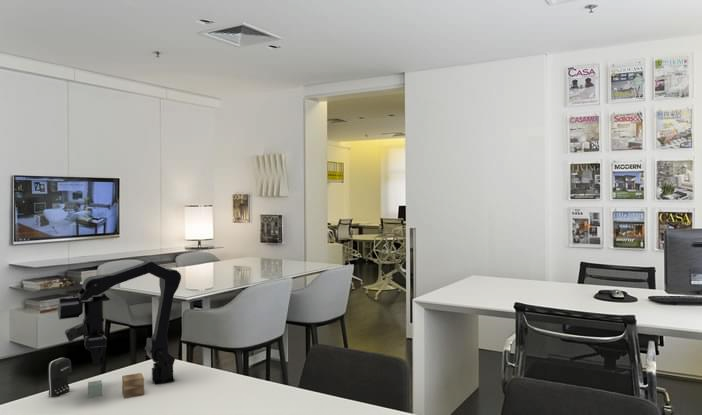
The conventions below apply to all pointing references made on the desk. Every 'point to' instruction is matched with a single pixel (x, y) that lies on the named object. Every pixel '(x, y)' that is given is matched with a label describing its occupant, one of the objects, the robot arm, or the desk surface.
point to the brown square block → (132, 381)
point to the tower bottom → (133, 392)
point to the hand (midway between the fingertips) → (94, 362)
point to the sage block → (95, 388)
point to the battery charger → (58, 376)
